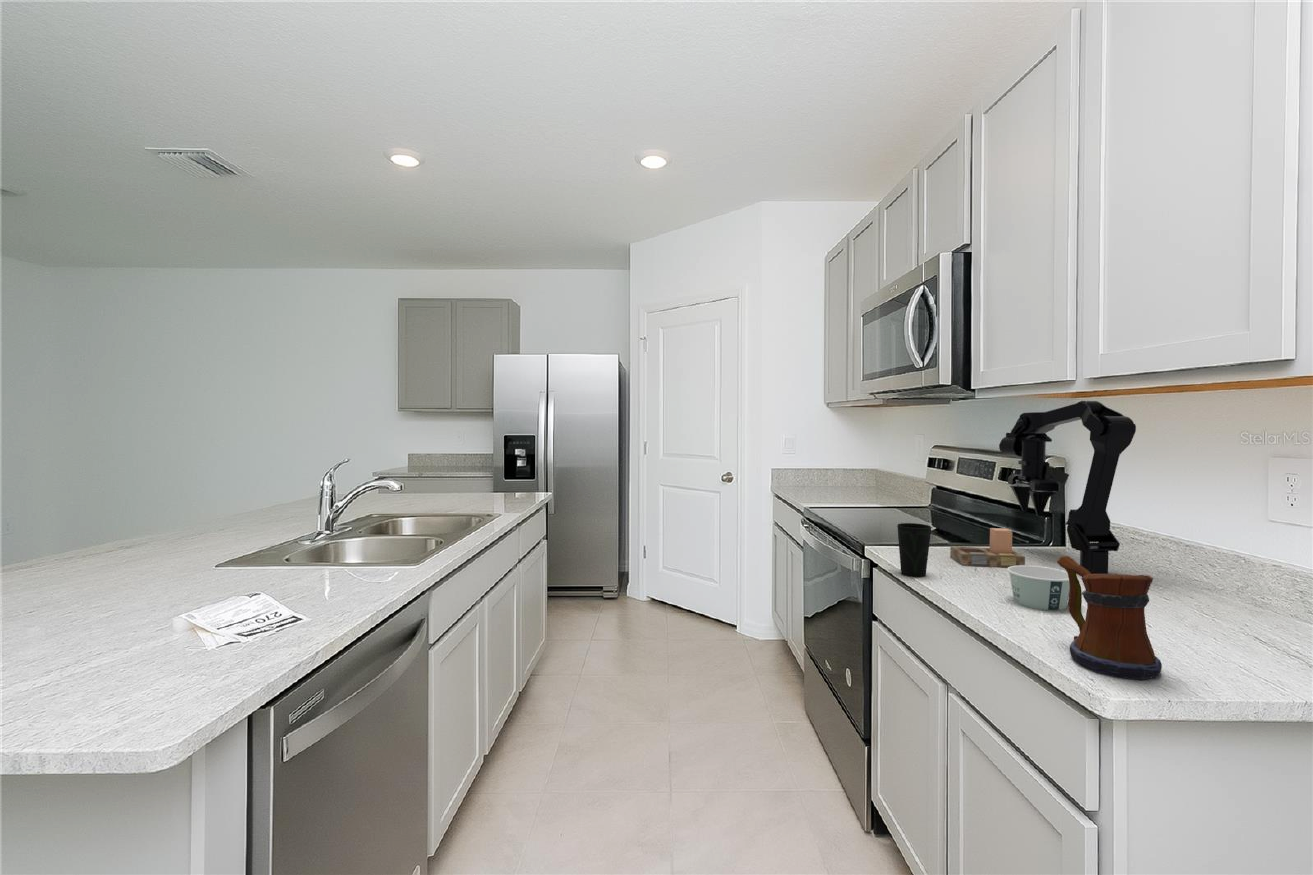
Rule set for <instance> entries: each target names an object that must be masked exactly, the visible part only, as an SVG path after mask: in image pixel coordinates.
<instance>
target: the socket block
mask: <svg viewBox="0 0 1313 875" xmlns="http://www.w3.org/2000/svg"><path fill="white" fill-rule="evenodd" d="M949 547H950V553H949V554H950V555H949V556H950V559H952V560H954V561H955V562H956V563H958V564H959V565H961V566H963V567H985V568H986V567H988V568H1006V569H1007V568H1008V567H1011V566H1018V565H1026V556H1025V555H1022V554H1021V553H1019V552H1017V551H1015V550H1013V549H1012V554H1005V553H998V554H993V553H991V552H990V547H978V546H977V547H976V546H975V547H974V546H973V547H972V546H954V545H953V546H951V545H950V546H949Z"/></svg>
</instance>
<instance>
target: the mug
mask: <svg viewBox="0 0 1313 875" xmlns="http://www.w3.org/2000/svg"><path fill="white" fill-rule="evenodd" d="M1056 563H1057V564H1058V565H1059V566H1060V567H1061V568H1063V569H1064V571H1066V572H1067V573H1068V577H1069V585H1070V592H1069V598H1068V602H1067V606H1068V612H1069V614H1070V617H1071V618H1072V619H1073V621H1074V622H1075V623H1076V625H1077V627H1078V629H1079V630H1078V632H1079V633H1078V635H1074V636H1073V640H1072V642H1071V643H1070V645H1069V653H1070V657H1071V658H1072V659H1073V660H1074V661H1075V662H1077V663H1079V665H1081V666H1083V667H1085V668H1087V669H1089V670H1091V671H1093V672H1095V673H1096V674H1097V673H1098V674H1103V675H1107V676H1109V677H1110V676H1111V677H1115V678H1120V679H1121V678H1122V679H1127V680H1136V681H1144V680H1150V679H1155V678H1156V679H1157V677H1158V676H1159V675H1160V673H1161V672H1162V669H1163V665H1162V664H1163V663H1162V661H1161V660H1160V658H1158V657H1157V656H1156V654H1155V651H1154V648H1153V646H1152V643H1151V640H1150V637H1149V635H1148V632H1147V624H1146V615H1145V607H1147V606H1148V603H1149V602H1150V598H1149V594H1148V593H1149V591H1150V590H1149V589H1150V588H1151V585H1152V583H1153V580H1154V577H1152V576H1151V575H1149V574H1148V575H1147V574H1146V575H1145V574H1138V575H1137V574H1136V575H1133V574H1122V573H1121V574H1118V573H1109V574H1091V573H1090V572H1089V571H1088V570H1087V569H1085V568H1084V567H1082V566H1080V564H1079V563H1077V562H1076V561H1075V560H1074V559H1073V558H1072V557H1070V556H1069V555H1065V556H1060V557H1059V559H1058V560H1057V561H1056ZM1077 575H1078V576H1079V577H1081V578H1080V579H1081V581H1082V583H1083V585H1084V589H1085V590H1083V591H1082V586H1081V583H1080V581H1079V579H1078V578H1079V577H1078V576H1077ZM1082 598H1083V599H1084V601H1085V602H1086V605H1087V608H1086V612H1085V614H1086V615H1085V618H1084V616H1083V613H1082V602H1083V600H1082Z"/></svg>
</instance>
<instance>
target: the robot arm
mask: <svg viewBox="0 0 1313 875" xmlns="http://www.w3.org/2000/svg"><path fill="white" fill-rule="evenodd" d="M1080 420H1081V423H1082V425H1083V426H1082V427H1084V428H1086V429H1087V430H1088V431H1089V441H1090V443H1091V446H1092V448H1093V451H1094V452H1093V455H1092V460H1091V464H1090V469H1089V471H1088V472H1089V473H1088V476H1087V480H1086V483H1085V488H1084V489H1085V490H1084V492H1083V498H1082V502H1081V506H1079V507H1078V508H1077V509H1075V508H1074V509H1070V510H1069V511H1068V518H1067V521H1066V522H1065V525H1066V526H1067V527H1066V533H1067V536H1068V539H1069V540H1068V541H1069V543H1070V547H1071V549H1073V550H1075V551H1079V565H1080V566H1082V567H1084V568H1085V569H1087V570H1088V571H1089V572H1090V573H1091V574H1110V573H1109V552H1118V551H1119V548H1120V546H1121V544H1120V541H1119V540H1118V539H1117V537H1116V536H1115V535H1114V534H1113V532H1112V531H1111V519H1110V516H1109V515H1108V512H1107V506H1108V503H1109V498H1110V495H1111V490H1112V487H1113V483H1114V479H1115V476H1116V470H1117V468H1118V467H1117V466H1118V463H1119V458H1120V455H1121V454H1122V453H1123V452H1124V451H1125V450H1126V449H1127V448H1128V447H1129V446H1130V445H1131V443H1132V441H1133V439H1134V437H1135V434H1136V430H1137V426H1136V424H1135V422H1134V421H1133V419H1132V418H1130V417H1128V416H1126V415H1123V414H1122V413H1121V412H1118V411H1116V410H1114V409H1112V408H1109V407H1107V406H1106V405H1105V404H1103V403H1101V402H1099V401H1097V400H1080V401H1078V402H1075V403H1072V404H1069V405H1065V406H1062V407H1059V408H1054V409H1051V410H1047V411H1037V412H1033V411H1032V412H1023V413H1021V414H1020V415H1019V418H1018V419H1017V420H1016V422H1015V424H1014V426H1013V428H1012V429H1011V430H1010V432H1006V433H1005V436H1003V438H1001V440H1000V443H999V445H998V446H999V447H998V448H999V451H1000V453H1001V454H1002V455H1004V456H1010V457H1021V460H1018V463H1017V464H1018V465H1020V474H1010V475H1009V476H1008V477H1007V485H1009V487H1010V488H1011V490H1012V492H1013V494H1014V496H1015V498H1016V499H1017V502H1018V504H1019V506H1020V508H1021V510H1022V512H1027V511H1028V509H1029V505H1030V504H1029V503H1030V499H1031V501H1032V505H1033V507H1034V511H1035V514H1036V516H1037V517H1042V516H1043V515H1044V511H1045V509H1046V507H1047V504H1048V502H1049V499H1050V498H1051V497H1052V496H1054V495H1056V494H1057V493H1058V492H1061V485H1062V486H1065V485H1066V484H1067V481H1068V479H1069V476H1070V474H1069V473H1066V472H1064V471H1061V470H1058V468H1057V467H1054V466H1053V465H1052V466H1051V465H1050V462H1049V461H1046V451H1047V450H1046V449H1047V448H1046V446H1047V444H1046V443H1047V442H1048V443H1052V441H1053V440H1052V438H1051V437H1050V436H1048V434H1047V433H1048V432H1051V431H1053V430H1055V428H1056V427H1057V426H1060V425H1063V424H1068V423H1071V422H1077V421H1080Z"/></svg>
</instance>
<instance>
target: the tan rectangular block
mask: <svg viewBox="0 0 1313 875" xmlns="http://www.w3.org/2000/svg"><path fill="white" fill-rule="evenodd" d="M989 548H990V552H991V553H993V554H998V553H1005V554H1012V550H1013V531H1012V530H1010V529H1009V528H1004V527H1003V528H1000V527H999V528H998V527H997V528H996V527H990V528H989Z"/></svg>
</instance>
